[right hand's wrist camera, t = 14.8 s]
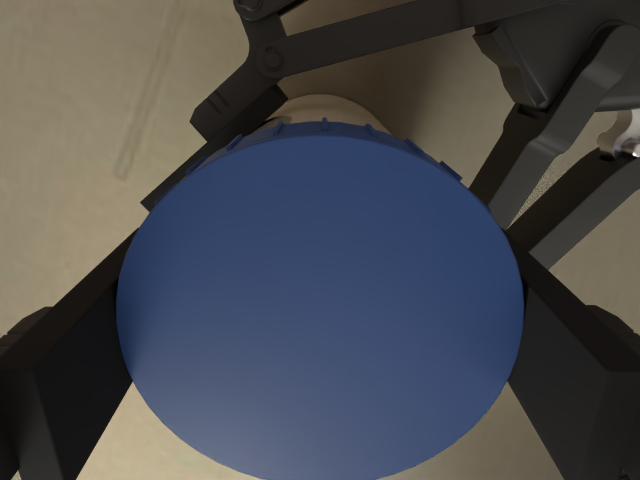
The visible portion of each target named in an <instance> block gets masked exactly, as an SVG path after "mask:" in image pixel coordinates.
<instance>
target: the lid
mask: <svg viewBox="0 0 640 480" xmlns="http://www.w3.org/2000/svg"><path fill="white" fill-rule="evenodd" d="M185 173H186V174H187V176H186V177H184V178H183V179H182V180H181V181H180V182H179V183H178V184H175V185H173V186H172V187H171V188H170V189H169V190H168V191H167V192H165V193H164V194H163V195H162V196H161V197H160V198H158V199H157V200H156V201H155V203H154V205H155V207H154V208H153V209H152V210H151V212H150V213H149V215H148V216H147V218H146V219H145V220H144V222H143V223H142V225H141V226H140V227H139V229H138V231H137V233H136V235H135V236H134V237H133V240H132V243H131V245H130V247H129V249H128V251H127V253H126V256H125V259H124V263H123V266H122V269H121V272H120V275H119V281H118V288H117V295H116V324H117V330H118V335H119V340H120V346H121V350H122V355H123V358H124V361H125V364H126V367H127V370H128V372H129V374H130V376H131V378H132V380H133V382H134V384H135V386H136V388H137V390H138V391H139V393H140V394H141V396H142V397H143V399H144V400H145V402H146V403H147V405H148V406H149V407H150V409H151V410H152V411H153V412H154V413H155V414H156V416H157V417H158V418H159V419H160V420H161V421H162V423H163V424H164V425H166V426H167V427H168V428H169V429H170V430H171V431H172V432H173V433H174V434H175V435H177V436H178V437H179V438H180V439H181V440H183V441H184V442H185V443H187V444H188V445H190V446H191V447H192V448H194V449H195V450H197V451H198V452H200V453H201V454H203V455H205V456H207V457H209V458H210V459H212V460H214V461H216V462H217V463H220V464H222V465H224V466H227V467H229V468H231V469H233V470H236V471H238V472H241V473H244V474H247V475H251V476H254V477H257V478H260V479H265V480H375V479H379V478H382V477H386V476H389V475H393V474H396V473H398V472H401V471H404V470H406V469H409V468H411V467H414V466H416V465H418V464H420V463H422V462H424V461H426V460H428V459H430V458H432V457H434V456H435V455H437V454H438V453H440V452H441V451H443V450H444V449H446V448H447V447H449V446H450V445H452V444H454V443H455V442H456V441H457V440H458V439H460V438H461V437H462V436H463V435H464V434H466V433H467V432H468V431H469V430H470V429H471V428H472V427H473V426H474V425H475V424H476V423H477V422H478V421H479V420H480V419H481V418H482V417H483V416H484V415H485V414H486V412H487V411H488V410H489V408H490V407H491V406H492V404H493V403H494V401H495V400H496V399H497V397H498V396H499V395H500V393H501V391H502V389H503V387H504V385H505V384H506V382H507V380H508V378H509V376H510V374H511V371H512V369H513V366H514V364H515V361H516V358H517V356H518V351H519V346H520V341H521V336H522V330H523V324H524V310H525V308H524V296H523V285H522V281H521V277H520V273H519V269H518V265H517V261H516V259H515V256H514V254H513V251H512V249H511V247H510V244H509V242H508V240H507V238H506V236H505V234H504V233H503V231H502V229H501V228H500V226H499V225H498V223H497V221H496V220H495V218H494V217H493V215H492V214H491V213H490V212H492V211H491V209H490V208H489V207H488V206H487V205H486V204H485V203H484V202H482V201H481V200H480V199H479V198H478V197H477V196H476V195H474V194H473V193H472V192H471V191H470V190H469V189H468V188H466V187H465V186H464V185H463V184H462V183H461V182H460V180H461V179H462V177H461V176H460V175H458V174H457V173H456V172H455V171H454V170H452V169H451V168H450V167H449V166H448V165H446V164H445V163H444V162H443V161H441V162H440V163H438V162H437V161H436V160H434V159H433V158H432V157H431V156H429V155H428V154H426V153H424V151H423V150H421V149H420V148H419V147H418V146H417V145H416V144H415V143H414V142H412V141H411V140H410V139H408V138H406V140H405V141H404V140H401V139H399V138H397V137H395V136H393V135H391V134H388V133H385V132H382V131H379V130H375V129H374V128H373V127H372V126H371V124H368V123H366V125H365V126H361V125H355V124H349V123H342V122H327V118H322V121H309V122H299V123H290V124H283V121H281V122H278V124H277V125H276V127H272V128H268V129H264V130H260V131H258V132H255V133H253V134H250V135H248V136H245V137H242V135H241V134H240V135H238V136H237V137H236V138H235V139H234V140H232V141H231V142H230V143H229V144H228V145H227V146H225V147H224V148H222V149H220V150H218V151H217V152H215V153H214V154H212V155H211V156H210V157H209V158H207V157H206V156H203V157H202V158H201V159H200V160H199V161H197V162H196V163H195V164H194V165H193V166H191V167H190V168H189V169H188V170H187V171H185Z"/></svg>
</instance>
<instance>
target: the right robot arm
mask: <svg viewBox="0 0 640 480" xmlns="http://www.w3.org/2000/svg"><path fill="white" fill-rule="evenodd" d="M138 229H139V228H137V229H136V230H135V231H134V232H133V233H132V234H131V235H130V236H129V237H128V238H127V239H125V240H124V241H123V242H122V243H121V244H120V245H119V246H118V247H117V248H116V249H115V250H114V251H113V252H111V253H110V254H109V255H108V256H107V257H106V258H105V259H104V260H103V261H102V262H101V263H100V264H99V265H98V266H96V267H95V268H94V269H93V270H92V271H91V272H90V273H89V274H88V275H87V276H86V277H85V278H84V279H82V280H81V281H80V282H79V283H78V284H77V285H76V286H75V287H74V288H73V289H72V290H71V291H70V292H68V293H67V294H66V295H65V296H64V297H63V298H62V299H61V300H60V301H59V302H58V303H57V304H56V305H55V306H53V307H44V308H42V309H40V310H38V311H36V312H34V313H32V314H31V315H29V316H27V317H25V318H23V319H22V320H21V321H20V322H18V323H17V324H16V325H15V326H14V327H13V328H12V329H10V330H9V331H8V332H7V335H4V336H2V337H1V338H0V480H11V479H12V478H13V476H14V475H15V474H16V472H17V471H19V474H20V477H21V480H76V478H77V477H78V475H79V473H80V472H81V470H82V468H83V466H84V465H85V463H86V461H87V459H88V458H89V456H90V454H91V453H92V451H93V449H94V447H95V446H96V444H97V442H98V440H99V439H100V437H101V435H102V434H103V432H104V430H105V428H106V427H107V425H108V423H109V422H110V420H111V418H112V416H113V415H114V413H115V411H116V409H117V408H118V406H119V404H120V403H121V401H122V399H123V397H124V396H125V394H126V392H127V390H128V389H129V387H130V385H131V384H132V382H133V380H132V378H131V376H130V374H129V372H128V370H127V367H126V364H125V361H124V358H123V355H122V350H121V346H120V340H119V335H118V330H117V324H116V295H117V288H118V281H119V275H120V272H121V269H122V266H123V263H124V259H125V256H126V253H127V251H128V249H129V247H130V245H131V243H132V240H133V237H134V236H135V235H136V233H137V231H138ZM501 229H502V231H503V233H504V234H505V236H506V238H507V240H508V242H509V244H510V247H511V249H512V251H513V254H514V256H515V259H516V261H517V265H518V269H519V273H520V277H521V281H522V285H523V296H524V308H525V310H524V324H523V330H522V336H521V341H520V346H519V351H518V356H517V358H516V361H515V364H514V366H513V369H512V371H511V374H510V376H509V378H508V380H507V381H508V383H509V385H510V387H511V388H512V390H513V392H514V393H515V395H516V397H517V399H518V400H519V402H520V404H521V406H522V407H523V409H524V411H525V412H526V414H527V416H528V418H529V419H530V421H531V423H532V424H533V426H534V428H535V430H536V431H537V433H538V435H539V437H540V438H541V440H542V442H543V443H544V445H545V447H546V449H547V450H548V452H549V454H550V456H551V457H552V459H553V461H554V462H555V464H556V466H557V468H558V469H559V471H560V473H561V475H562V476H563V478H564V480H619V478H620V475H621V472H622V469H624V471H625V472H626V473H627V475H628V476H629V477H630V479H631V480H640V336H639V335H638V334H637V333H634V332H633V330H632V329H631V328H630V327H629V326H628V325H626V324H625V323H624V322H623V321H622V320H621V319H620V318H618V317H617V316H615V315H613V314H611V313H609V312H607V311H606V310H604V309H602V308H600V307H598V306H596V305H585V304H584V303H583V302H581V301H580V300H579V299H578V298H577V297H576V296H575V295H574V294H573V293H572V292H571V291H570V290H569V289H567V288H566V287H565V286H564V285H563V284H562V283H561V282H560V281H559V280H558V279H557V278H556V277H555V276H554V275H552V274H551V273H550V272H549V271H548V270H547V269H546V268H545V267H544V266H543V265H542V264H541V263H540V262H538V261H537V260H536V259H535V258H534V257H533V256H532V255H531V254H530V253H529V252H528V251H527V250H526V249H524V248H523V247H522V246H521V245H520V244H519V243H518V242H517V241H516V240H515V239H514V238H513V237H512V236H511V235H509V234H508V233H507V232H506V231H505V230H504V229H503V228H501Z"/></svg>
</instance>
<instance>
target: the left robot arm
mask: <svg viewBox="0 0 640 480" xmlns="http://www.w3.org/2000/svg"><path fill="white" fill-rule="evenodd" d="M306 1H308V0H233V3H234V6H235V9H236V11H237V12H238V14H239V15H240V18H241V20H242V23H243V26H244V28H245V31H246V34H247V36H248V40H249V48H250V50H249V55H248V57H247V59H246V61H245V62H244V64H243V65H242V66H241V67H240V68H239V69H237V70H236V71H235V72H234V73H233V74H232V75H231V76H230V77H229V78H228V79H227V80H226V81H224V82H223V83H222V84H221V85H220V86H219V87H218V88H217V89H216V90H215V91H214V92H213V93H212V94H210V95H209V96H208V97H207V98H206V99H205V100H204V101H203V102H202V103H201V104H200V105H199V106H197V107H196V108H195V110H194V113H193V115H192V117H191V119H190V123H191V124H192V125H193V126H194V128H195V129H196V130H197V131H198V132H199V133H200V134H201V135H202V136H203V138H204V139H205V140H206V141H207V143H206V144H205V145H204V146H203V147H201V148H200V149H199V150H198V151H197V152H196V153H195V154H194V155H193V156H191V157H190V158H189V159H188V160H187V161H186V162H185V163H184V164H182V165H181V166H180V167H179V168H178V169H177V170H176V171H175V172H173V173H172V174H171V175H170V176H169V177H168V178H167V179H166V180H165V181H163V182H162V183H161V184H160V185H159V186H158V187H157V188H156V189H154V190H153V191H152V192H151V193H150V194H149V195H148V196H147V197H145V198H144V199H143V200H142V201H141V202H140V203H141V204H142V205H143V206H144V207H145V208H146V209H147V210H148V211H149V212H151V210H152V209H153V208H154V207H155V205H154V203H155V201H156V200H157V199H158V198H160V197H161V196H162V195H163V194H164V193H165V192H167V191H168V190H169V189H170V188H171V187H172V186H173V185H175V184H178V183H179V182H180V181H181V180H182V179H183V178H184V177H186V176H187V174H186V173H185V171H187V170H188V169H189V168H190V167H191V166H193V165H194V164H195V163H196V162H197V161H199V160H200V159H201V158H202V157H203V156H206V157H207V158H209V157H210V156H211V155H212V154H214V153H215V152H217V151H218V150H220V149H222V148H224V147H225V146H227V145H228V144H229V143H230V142H231V141H232V140H234V139H235V138H236V137H237V136H238V135H240V134H241V135H242V137H245V136H248V135H249V134H250V133H252V132H253V131H254V130H255V129H256V128H257V127H258V126H260V125H261V124H262V123H263V122H264V121H265V120H266V119H268V118H269V117H270V116H271V115H272V114H273V113H275V112H276V111H277V110H278V109H279V108H280V107H281V106H283V105H284V103H285V102H286V101H287V100H288V97H287V96H286V95H285V94H284V93H283V91H282V90H281V89H280V88H279V86H278V85H277V83H278V82H279V81H280V80H281V79H283V78H284V77H286V76H290V75H294V74H297V73H301V72H305V71H308V70H312V69H316V68H320V67H323V66H327V65H331V64H334V63H338V62H342V61H346V60H349V59H353V58H357V57H360V56H364V55H368V54H371V53H375V52H379V51H383V50H386V49H390V48H394V47H397V46H401V45H405V44H409V43H412V42H416V41H420V40H423V39H427V38H431V37H435V36H438V35H442V34H446V33H449V32H453V31H457V30H461V29H465V28H469V27H473V26H475V31H476V33H475V34H474V35H473V36H472V37H473V38H474V40H475V42H476V43H477V45H478V46H479V48H480V49H481V51H482V53H483V54H485V55H486V56H487V57H488V58H489V59H490V60H492V61H493V62H494V63H495V64H496V65H497V66H498V67H499V71H500V74H501V78H502V81H503V84H504V87H505V89H506V90H507V92H508V93H509V95H510V97H511V98H512V100H513V101H514V102H516V103H515V105H514V106H513V108H512V110H511V111H510V113H509V115H508V116H507V118H506V120H505V122H504V125H503V133H502V135H501V137H500V138H499V140H498V142H497V143H496V145H495V146H494V148H493V150H492V151H491V153H490V155H489V156H488V158H487V159H486V161H485V163H484V164H483V166H482V168H481V169H480V171H479V172H478V174H477V176H476V177H475V179H474V181H473V182H472V184H471V185H470V187H469V190H470V191H471V192H472V193H473V194H474V195H476V196H477V197H478V198H479V199H480V200H481V201H482V202H484V203H485V204H486V205H487V206H488V207H489V208H490V209H491V211H492V212H490V213H491V214H492V215H493V217H494V218H495V220H496V221H497V223H498V225H499V226H500V228H503V229H504V230H505V231H506V232H507V233H508V234H509V235H511V236H512V237H513V238H514V239H515V240H516V241H517V242H518V243H519V244H520V245H521V246H522V247H523V248H524V249H526V250H527V251H528V252H529V253H530V254H531V255H532V256H533V257H534V258H535V259H536V260H537V261H538V262H540V263H541V264H542V265H543V266H544V267H545V268H546V269H547V270H548V269H549V268H550V267H552V266H553V265H554V264H555V263H556V262H557V261H558V260H559V259H560V258H562V257H563V256H564V255H565V254H566V253H567V252H568V251H569V250H570V249H572V248H573V247H574V246H575V245H576V244H577V243H578V242H579V241H580V240H582V239H583V238H584V237H585V236H586V235H587V234H588V233H589V232H590V231H591V230H593V229H594V228H595V227H596V226H597V225H598V224H599V223H600V222H601V221H603V220H604V219H605V218H606V217H607V216H608V215H609V214H610V213H611V212H613V211H614V210H615V209H616V208H617V207H618V206H619V205H620V204H621V203H622V202H624V201H625V200H626V199H627V198H628V197H629V196H630V195H631V194H632V193H634V192H635V191H636V190H638V189H640V0H416V1H413V2H409V3H406V4H402V5H398V6H395V7H391V8H388V9H384V10H380V11H377V12H373V13H370V14H366V15H363V16H359V17H355V18H352V19H348V20H345V21H341V22H337V23H334V24H330V25H327V26H323V27H319V28H316V29H312V30H309V31H305V32H301V33H298V34H294V35H291V36H286V33H285V30H284V27H283V24H282V21H281V18H280V17H281V16H283V15H285V14H286V13H288V12H290V11H291V10H293V9H295V8H296V7H298V6H300V5H301V4H303V3H305V2H306ZM604 111H617V112H618V115H617V119H616V122H615V124H614V125H613V126H612V127H611V128H610V129H609V130H608V131H607V132H604V133H602V134H600V135H599V136H598V139H597V144H598V145H599V147H598V148H596V149H595V150H593V151H591V152H590V153H588V154H587V155H586V156H584V157H583V158H581V159H580V160H579V161H578V162H577V163H576V164H574V165H573V166H572V167H571V168H570V169H569V170H568V171H567V172H566V173H565V174H564V175H563V176H562V177H561V178H560V179H559V180H558V181H557V182H555V183H554V184H553V185H552V186H551V187H550V188H549V189H548V190H547V191H546V192H545V193H544V194H543V195H542V196H541V197H540V198H539V199H538V200H537V201H536V202H535V203H534V204H533V205H532V206H531V207H530V208H529V209H528V210H527V211H526V212H525V213H523V214H522V215H521V216H520V217H519V218H518V219H517V220H516V221H515V222H514V223H513V224H512V225H511V226H510V227H509V228H508V226H509V225H510V223H511V222H512V220H513V219H514V218H515V216H516V215H517V213H518V212H519V210H520V209H521V207H522V206H523V204H524V203H525V201H526V200H527V198H528V197H529V195H530V194H531V192H532V191H533V189H534V188H535V186H536V185H537V183H538V182H539V180H540V179H541V177H542V176H543V174H544V173H545V171H546V170H547V168H548V167H549V165H550V164H551V162H552V161H553V159H554V158H555V157H556V156H558V155H559V154H562V153H564V152H565V151H566V150H568V149H569V148H570V146H571V145H572V144H573V143H574V141H575V140H576V138H577V137H578V135H579V134H580V132H581V131H582V129H583V128H584V126H585V125H586V123H587V122H588V120H589V119H590V118H591V116H592V115H593V113H594V112H604ZM507 228H508V229H507ZM506 229H507V230H506ZM619 480H631V479H630V477H625V478H620V479H619Z"/></svg>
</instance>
